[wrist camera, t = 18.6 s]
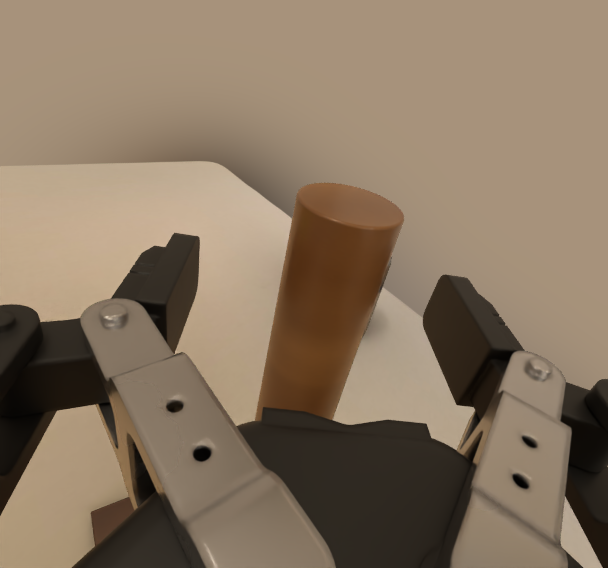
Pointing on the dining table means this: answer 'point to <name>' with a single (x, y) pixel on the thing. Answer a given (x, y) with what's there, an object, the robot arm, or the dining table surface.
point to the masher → (326, 294)
